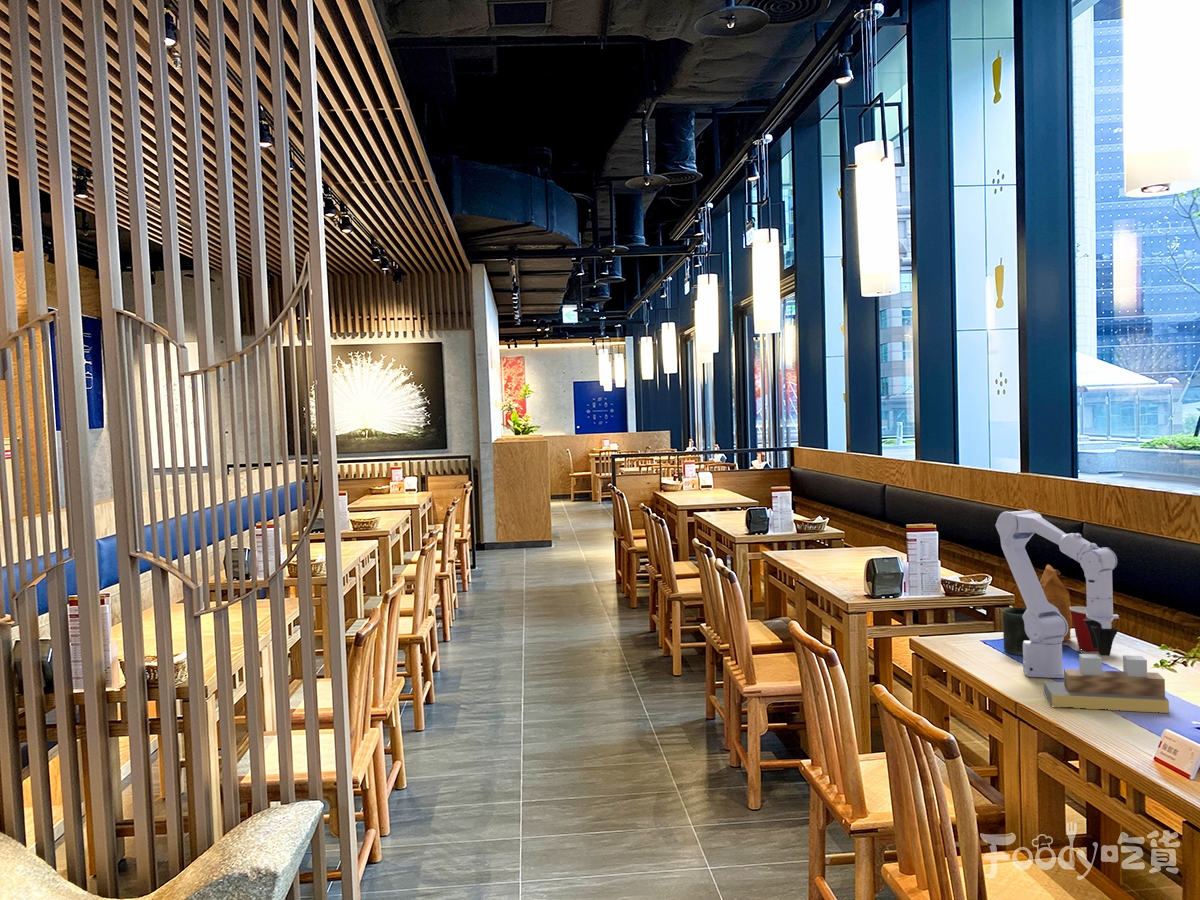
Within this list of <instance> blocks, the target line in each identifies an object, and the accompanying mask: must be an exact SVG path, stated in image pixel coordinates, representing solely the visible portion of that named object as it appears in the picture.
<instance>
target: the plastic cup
mask: <svg viewBox="0 0 1200 900" xmlns="http://www.w3.org/2000/svg"><path fill="white" fill-rule="evenodd" d="M1069 610H1070V612H1071V619H1072V621H1073V622H1072V624H1073V627H1074V632H1075V633H1074V634H1075V637H1076V640H1077V647H1078V649H1079V648H1080V649H1082V650H1081V651H1083V650H1086V651H1085V652H1089V651H1098V648H1093V646H1092V643H1091V638H1090V634H1089V631H1088V628H1087V626H1086V624H1085V622H1084V620H1083V619H1089V618H1087V617H1086V614H1087V606H1070V608H1069ZM1080 649H1079V650H1080Z"/></svg>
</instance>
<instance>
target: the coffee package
mask: <svg viewBox="0 0 1200 900" xmlns="http://www.w3.org/2000/svg"><path fill="white" fill-rule="evenodd" d="M1060 575H1061V572H1060V571H1059V570H1058V569H1055V568H1053V566H1051V565H1050V564H1046V566H1045V569H1044V571H1043V573H1042V576H1041V578H1040V580H1039V582H1040V584H1041V587H1042V589H1043V591H1044V594H1045V596H1046V598H1047V601H1048V602H1049V603H1050V604H1052V605H1054V606H1055V607H1057V608H1058V610H1059V612H1060V614H1061V615H1062V616H1063V617H1064V618H1065V619H1066V621H1067V623H1068V632H1067V634H1066V635H1065V636H1064V637H1063V638H1064V640H1063V641H1066V640H1071V629H1072V625H1073V622H1072V621H1073V619H1072V615H1071V611H1070V610H1069V608H1070V607H1071V602H1070V601H1071V599H1070V593H1069V591H1068V590H1067V588H1066V586H1065V585H1064V584H1063V583H1062V581H1061V580H1060V579H1059V577H1058V576H1060Z"/></svg>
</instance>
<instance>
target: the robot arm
mask: <svg viewBox="0 0 1200 900" xmlns="http://www.w3.org/2000/svg"><path fill="white" fill-rule="evenodd" d="M994 526H995V528H996V530H997V533H998V535H999V539H1000V547H1001V550H1002V551H1003V555H1004V557H1005V560H1006V561H1007V564H1008V566H1009V569H1010V571H1011V573H1012V576H1013V579H1014V581H1015V583H1016V586H1017V588H1018V590H1019V592H1020V595H1021V598H1022V599H1023V602H1024V604H1025V608H1027V609H1026V611H1025V613H1024V614H1023V616H1022V618H1023V620H1024V624H1025V632H1026V634H1027V636H1028V637H1029V638H1030V640H1027V641H1023V655H1022V670H1023V672H1024V673H1025V675H1026V677H1028V678H1045V679H1046V678H1049V679H1050V678H1051V679H1064V667H1063V666H1064V664H1063V641H1065V640H1064V638H1063V637H1064V636H1065V635H1066V634H1067V632H1068V623H1067V621H1066V619H1065V618H1064V617H1063V616H1062V615H1061V614H1060V612H1059V610H1058V608H1057V607H1055V606H1054V605H1052V604H1050V603H1049V602H1048V601H1047V598H1046V596H1045V594H1044V591H1043V589H1042V587H1041V584H1040V580H1039V577H1038V576H1037V573H1036V570H1035V569H1034V566H1033V564H1032V562H1031V559H1030V557H1029V555H1028V552H1027V550H1026V545H1027V543H1028V542H1029V541H1030V539H1031V538H1032V537H1033V536H1034V535H1035V534H1037V535H1039V536H1041V537H1043V538H1045V539H1046V540H1048V541H1050V542H1052V543H1054V544H1056V545H1058V547H1059V551H1060V552H1061V553H1063V554H1064V555H1066V556H1067V557H1069V558H1070V559H1073V560H1074V561H1076V562H1078V563H1079V564H1080V567H1081V568H1082V570H1083V572H1084V577H1085V585H1086V586H1085V587H1086V588H1085V589H1086V593H1085V594H1086V607H1087V614H1086V617H1087V618H1089V619H1083V620H1084V622H1085V624H1086V626H1087V628H1088V631H1089V634H1090V638H1091V643H1092V646H1093V648H1098V651H1099V652H1098V655H1099V656H1100V657H1101V656H1105V657H1106V656H1108V657H1110V655H1111V651H1112V647H1113V642H1114V639H1115V637H1116V636H1117V633H1119V629H1118V628H1117V627H1112V622H1113V621H1114V619H1118V620H1119V619H1120V617H1119V616H1120V615H1118V614H1117V613H1116V614H1114V604H1113V603H1114V597H1113V594H1114V593H1113V570H1115V568H1116V567H1117V565H1118V558H1117V557H1118V556H1117V555H1116V553H1115V552H1114V551H1113V550H1112V549H1111V548H1110V547H1099V546H1098V544H1097V543H1095V542H1090V541H1088V540H1087V539H1085V538H1083V537H1082V534H1081V533H1080V532H1076V533H1074V532H1071V533H1066V532H1064V531H1063V530H1062V529H1060V528H1058V527H1057V526H1055V525H1054V524H1052V523H1050V521H1048V520H1047V519H1045V518H1043V517H1042V514H1041V513H1039V512H1035V510H1032V509H1025V510H1018V511H1017V510H1016V511H1003V512H1001V513H1000V514H999V516H998V517H997V520H996V523H995V525H994ZM1038 616H1041V617H1038Z"/></svg>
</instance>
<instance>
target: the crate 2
mask: <svg viewBox="0 0 1200 900" xmlns="http://www.w3.org/2000/svg"><path fill="white" fill-rule="evenodd" d="M1122 667H1123V668H1122V669H1123V670H1122V671H1123V672H1124V673H1125V674H1126V675H1127V676H1128V677H1147V672H1148V660H1147V659H1146V658H1145V657H1144V656H1143V655H1127V654H1126V655H1125V654H1124V655H1123V654H1122Z"/></svg>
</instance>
